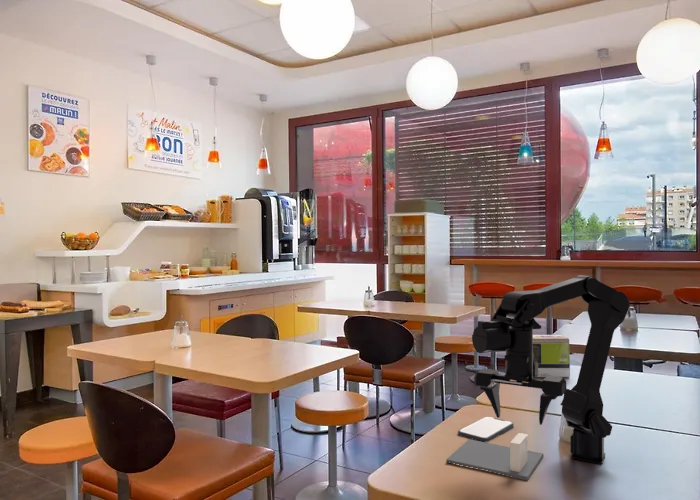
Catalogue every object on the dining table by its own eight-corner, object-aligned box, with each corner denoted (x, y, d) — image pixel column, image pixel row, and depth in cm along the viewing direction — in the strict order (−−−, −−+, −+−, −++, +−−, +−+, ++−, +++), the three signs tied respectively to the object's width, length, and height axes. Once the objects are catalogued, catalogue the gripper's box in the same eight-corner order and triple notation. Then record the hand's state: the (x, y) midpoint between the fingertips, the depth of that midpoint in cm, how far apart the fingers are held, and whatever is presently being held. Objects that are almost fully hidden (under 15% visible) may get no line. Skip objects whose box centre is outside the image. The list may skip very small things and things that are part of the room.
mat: (543, 456, 127) (543, 453, 127) (527, 480, 114) (527, 476, 114) (468, 442, 136) (468, 439, 136) (446, 462, 123) (446, 459, 123)
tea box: (562, 372, 211) (562, 334, 211) (570, 378, 201) (570, 338, 201) (522, 371, 213) (522, 333, 213) (528, 377, 203) (528, 337, 203)
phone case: (486, 445, 136) (515, 428, 148) (486, 439, 136) (515, 422, 148) (455, 437, 142) (486, 421, 154) (455, 430, 142) (486, 415, 154)
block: (518, 459, 123) (518, 432, 123) (527, 461, 122) (527, 434, 122) (510, 470, 117) (510, 442, 117) (519, 472, 116) (519, 444, 116)
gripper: (570, 347, 121) (571, 417, 122) (488, 340, 131) (488, 405, 131) (561, 356, 112) (561, 432, 112) (473, 348, 122) (473, 417, 122)
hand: (519, 420), depth 120 cm, fingers open, 9 cm apart
